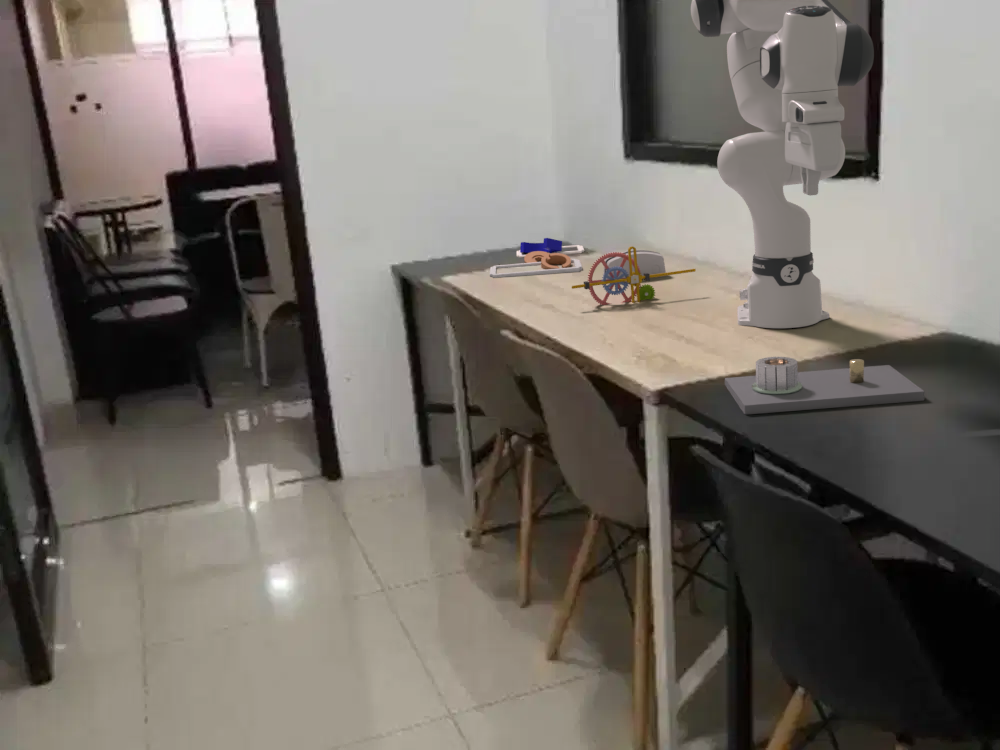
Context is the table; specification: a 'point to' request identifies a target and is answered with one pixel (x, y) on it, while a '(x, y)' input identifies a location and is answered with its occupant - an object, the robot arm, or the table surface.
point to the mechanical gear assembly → (623, 279)
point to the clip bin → (580, 250)
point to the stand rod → (856, 371)
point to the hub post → (776, 391)
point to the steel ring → (776, 374)
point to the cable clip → (542, 246)
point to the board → (828, 391)
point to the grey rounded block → (639, 263)
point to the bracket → (548, 259)
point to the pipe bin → (535, 272)
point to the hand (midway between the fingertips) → (810, 194)
